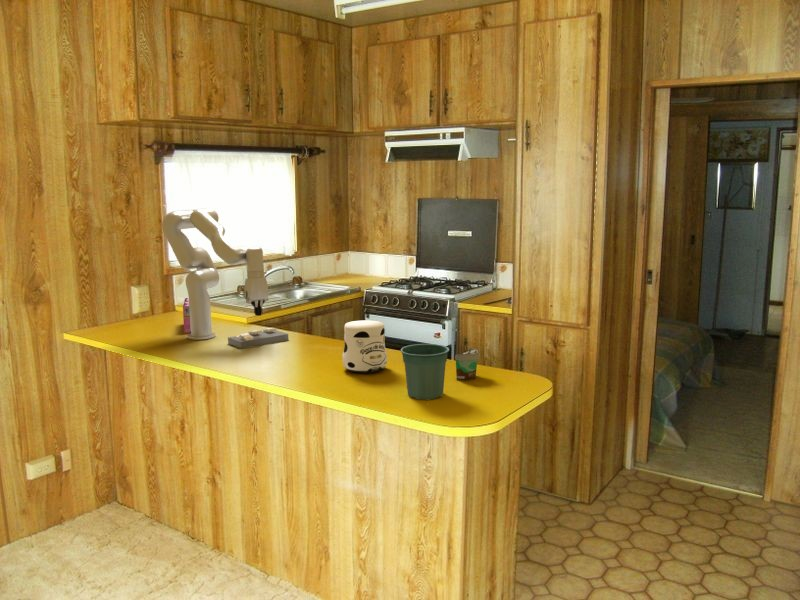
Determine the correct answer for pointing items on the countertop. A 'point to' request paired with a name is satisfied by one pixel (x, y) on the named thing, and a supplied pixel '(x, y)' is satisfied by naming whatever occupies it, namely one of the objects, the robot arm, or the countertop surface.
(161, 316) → the countertop surface
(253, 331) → the rocker mid
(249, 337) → the rocker near
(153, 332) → the countertop surface
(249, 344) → the switch panel
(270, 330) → the rocker far
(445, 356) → the flower pot
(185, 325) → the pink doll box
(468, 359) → the food container
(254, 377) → the countertop surface
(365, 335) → the milk container
